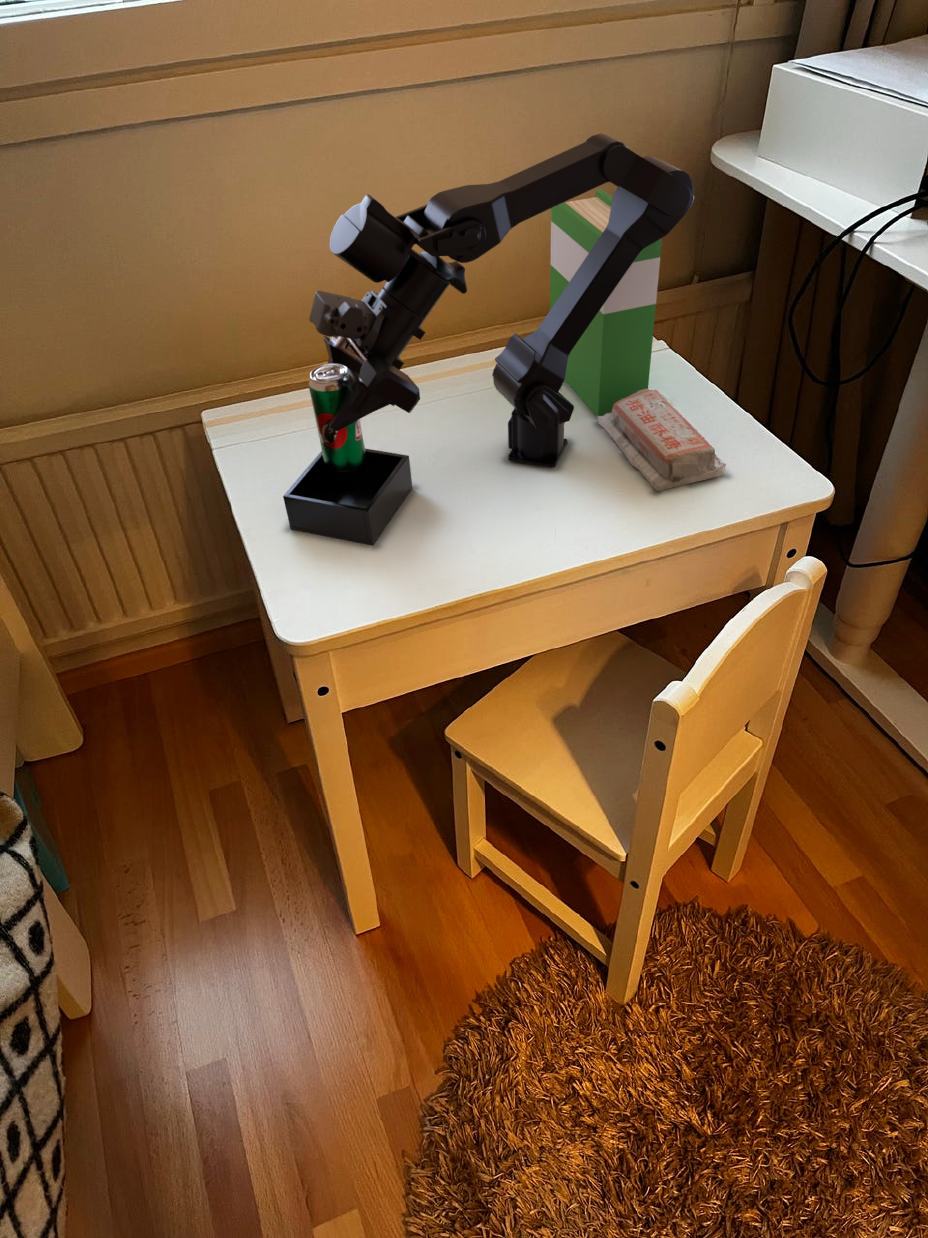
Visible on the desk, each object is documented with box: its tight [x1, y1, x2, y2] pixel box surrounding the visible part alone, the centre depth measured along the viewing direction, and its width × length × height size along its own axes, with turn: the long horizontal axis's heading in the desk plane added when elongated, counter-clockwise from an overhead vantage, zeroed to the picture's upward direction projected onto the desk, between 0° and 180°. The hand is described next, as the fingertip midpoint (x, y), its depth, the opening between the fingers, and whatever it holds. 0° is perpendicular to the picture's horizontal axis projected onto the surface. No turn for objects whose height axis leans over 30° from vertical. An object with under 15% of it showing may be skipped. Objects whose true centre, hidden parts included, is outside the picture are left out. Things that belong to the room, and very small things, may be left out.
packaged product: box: [596, 388, 727, 491], centre depth 119 cm, size 18×5×10 cm
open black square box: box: [282, 448, 413, 547], centre depth 113 cm, size 11×12×5 cm
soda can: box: [307, 363, 366, 472], centre depth 106 cm, size 5×5×12 cm
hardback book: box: [549, 188, 663, 417], centre depth 126 cm, size 18×7×24 cm, turn 19°
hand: (325, 418), depth 105 cm, fingers closed on soda can, 5 cm apart
